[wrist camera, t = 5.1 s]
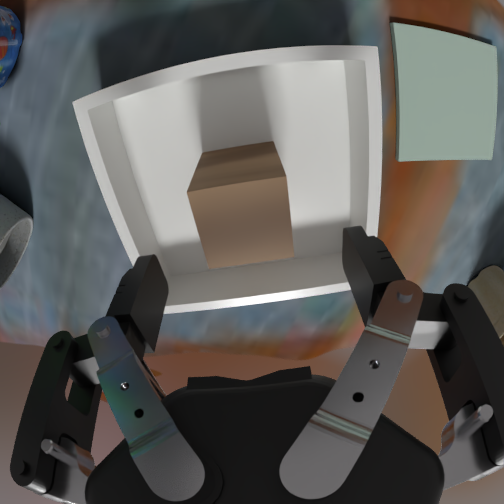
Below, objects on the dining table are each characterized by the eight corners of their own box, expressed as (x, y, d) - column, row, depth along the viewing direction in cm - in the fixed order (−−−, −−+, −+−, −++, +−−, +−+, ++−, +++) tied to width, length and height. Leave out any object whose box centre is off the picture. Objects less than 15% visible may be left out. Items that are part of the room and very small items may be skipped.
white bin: (102, 92, 15) (72, 102, 12) (351, 47, 14) (377, 46, 11) (166, 279, 25) (157, 314, 22) (355, 253, 24) (370, 286, 21)
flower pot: (506, 287, 28) (537, 334, 21) (454, 323, 31) (481, 375, 24) (509, 239, 24) (552, 290, 17) (449, 280, 26) (486, 342, 20)
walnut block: (202, 152, 18) (186, 192, 13) (273, 141, 18) (286, 176, 13) (216, 213, 21) (209, 269, 16) (281, 203, 20) (294, 257, 15)
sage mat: (389, 23, 13) (393, 22, 13) (492, 46, 12) (495, 46, 12) (395, 159, 19) (398, 161, 18) (488, 157, 18) (491, 159, 18)
